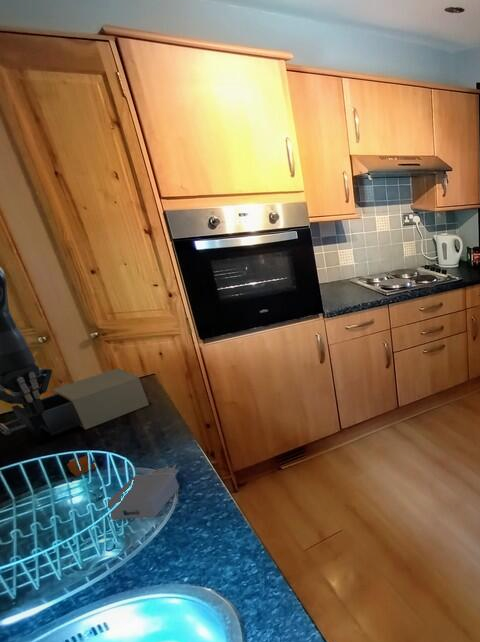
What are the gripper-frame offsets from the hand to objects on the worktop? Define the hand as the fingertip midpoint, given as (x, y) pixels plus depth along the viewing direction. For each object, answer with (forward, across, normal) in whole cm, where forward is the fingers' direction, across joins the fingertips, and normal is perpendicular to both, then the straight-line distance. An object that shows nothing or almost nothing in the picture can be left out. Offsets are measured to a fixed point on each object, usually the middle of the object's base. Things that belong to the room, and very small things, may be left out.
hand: (37, 413), depth 109 cm
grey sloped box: (+14, -23, -8) cm, 28 cm away
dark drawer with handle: (+13, -12, -13) cm, 22 cm away
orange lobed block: (+14, +3, +8) cm, 16 cm away
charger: (+14, +11, +34) cm, 39 cm away
